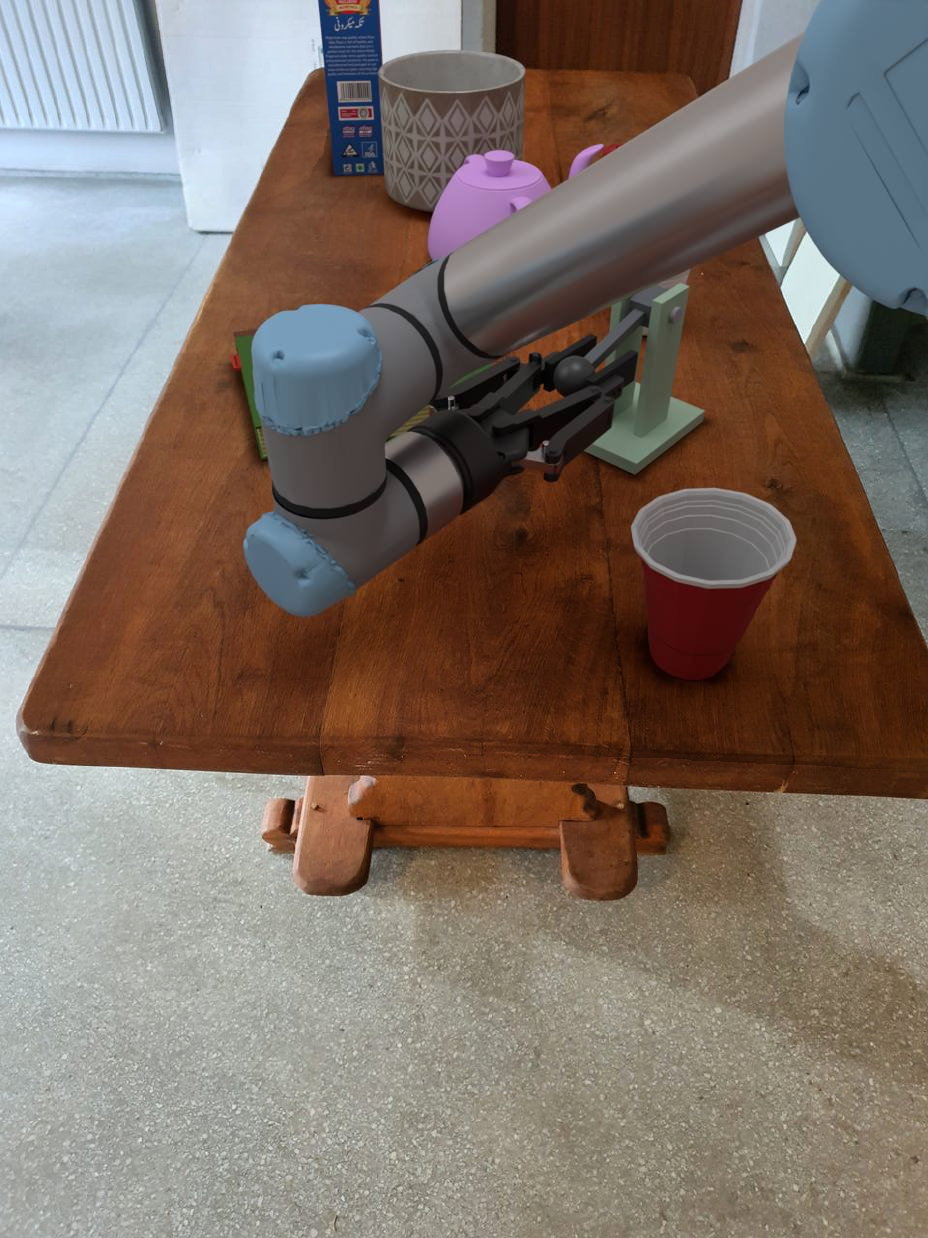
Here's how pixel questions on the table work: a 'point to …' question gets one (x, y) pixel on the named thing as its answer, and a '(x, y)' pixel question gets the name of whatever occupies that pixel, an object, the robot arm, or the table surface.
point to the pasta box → (353, 83)
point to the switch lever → (605, 344)
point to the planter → (446, 118)
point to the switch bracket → (649, 389)
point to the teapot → (488, 196)
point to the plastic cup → (706, 573)
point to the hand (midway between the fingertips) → (611, 356)
